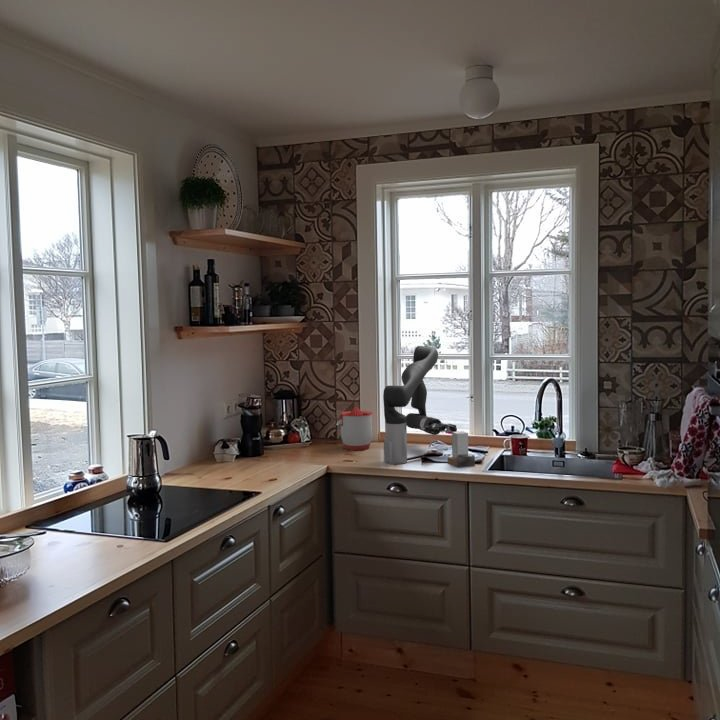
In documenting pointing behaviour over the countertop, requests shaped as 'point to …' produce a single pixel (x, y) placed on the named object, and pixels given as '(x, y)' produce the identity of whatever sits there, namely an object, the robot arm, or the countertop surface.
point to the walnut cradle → (462, 461)
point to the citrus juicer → (356, 429)
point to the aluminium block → (459, 444)
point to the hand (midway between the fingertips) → (447, 430)
